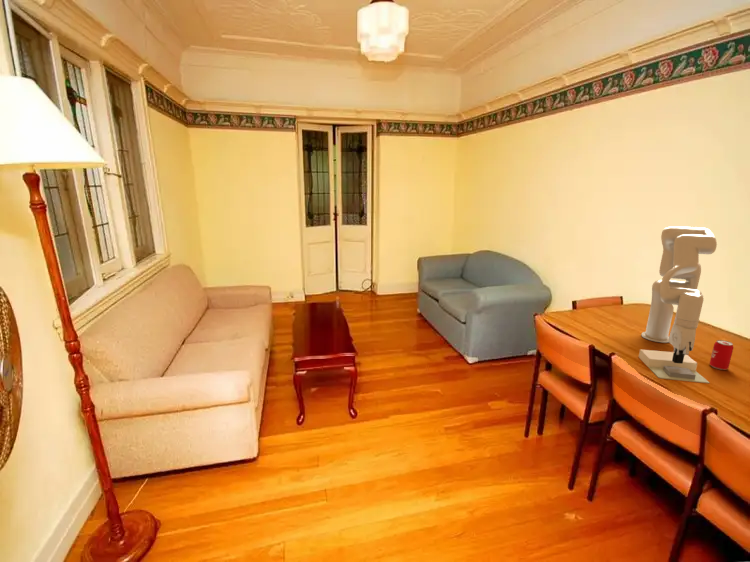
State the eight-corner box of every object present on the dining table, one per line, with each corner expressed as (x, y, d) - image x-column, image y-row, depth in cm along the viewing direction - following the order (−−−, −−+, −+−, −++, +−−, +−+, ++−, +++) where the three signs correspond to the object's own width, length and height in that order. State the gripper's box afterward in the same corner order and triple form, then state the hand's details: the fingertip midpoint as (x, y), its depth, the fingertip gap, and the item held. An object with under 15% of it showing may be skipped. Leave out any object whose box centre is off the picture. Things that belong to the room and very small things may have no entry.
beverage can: (718, 363, 167) (724, 339, 164) (731, 370, 161) (738, 345, 158) (705, 364, 167) (711, 339, 164) (718, 370, 161) (724, 345, 158)
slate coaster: (670, 372, 155) (669, 376, 156) (695, 375, 153) (694, 379, 153) (663, 365, 161) (662, 370, 161) (688, 368, 159) (687, 372, 159)
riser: (638, 357, 174) (640, 349, 173) (683, 361, 170) (685, 353, 169) (648, 367, 165) (649, 358, 164) (695, 371, 161) (697, 363, 160)
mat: (648, 367, 165) (648, 366, 164) (696, 372, 160) (696, 371, 160) (658, 378, 156) (658, 377, 155) (709, 383, 151) (709, 382, 151)
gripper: (666, 315, 162) (658, 353, 167) (685, 328, 148) (675, 369, 153) (686, 316, 160) (678, 355, 165) (707, 329, 146) (697, 371, 151)
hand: (677, 362), depth 159 cm, fingers closed
